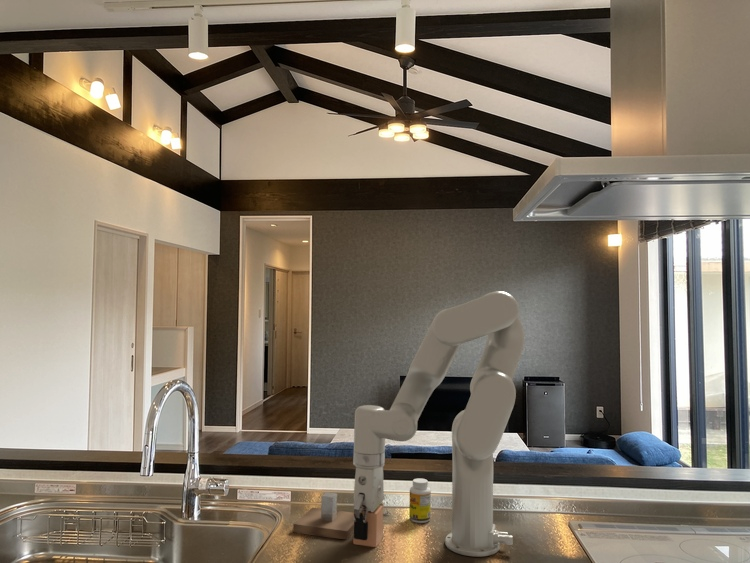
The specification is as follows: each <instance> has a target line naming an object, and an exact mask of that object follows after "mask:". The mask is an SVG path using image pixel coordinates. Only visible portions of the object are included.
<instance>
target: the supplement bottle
mask: <svg viewBox="0 0 750 563" xmlns="http://www.w3.org/2000/svg"><path fill="white" fill-rule="evenodd" d="M431 493H432V490H431V488H430V487H429V482H428V480H427V479H425V478H414V479H413V480H412V486H411V487H410V488H409V505H408V506H409V514H408V515H409V517H408V518H409V520H410V521H411V522H414V523H416V524H426V523H428V522H430V520H431V515H432V514H431V511H432V510H431V507H432V506H431V504H432V503H431V502H432V494H431Z"/></svg>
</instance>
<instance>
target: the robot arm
mask: <svg viewBox="0 0 750 563" xmlns="http://www.w3.org/2000/svg"><path fill="white" fill-rule="evenodd" d="M519 308H520V307H519V304H518V301H517V300H516V299H515V297H514V296H513V295H512V294H510V293H508V292H506V291H501V290H496V291H490V292H489V293H488V292H487V293H486V294H484V295H483V296H480V297H477V298H475V299H472V300H469V301H468V302H464V303H461V304H459V305H455V306H453V307H449V308H445V309H442V310H440V311H438V312H437V313H436V315H435V316H434V318H433V320H432V321H431V323H430V325H429V327H428V330H427V332H426V333H425V336H424V338H423V340H422V341H421V344H420V346H419V348H418V350H417V352H416V353H415V356H414V358H413V360H412V361H411V364H410V366H409V369H408V372H407V374H406V377H405V378H404V380H403V383H402V385H401V386H400V388H399V391H398V392H397V395H396V396H395V398H394V400H393V402H392V404H391V407H390V408H389V409H385V408H384V407H382V406H379V405H373V404H372V405H371V404H368V405H367V404H366V405H365V404H364V405H360V406H358V407H357V408H356V409H355V412H354V426H353V427H354V428H353V429H354V433H353V457H352V458H353V462H352V464H353V466H355V475H354V487H353V488H354V489H353V513H354V512H355V513H354V532H353V537H354V539H359V540H367V538H368V522H366V521H367V517H368V512H369V511H371V512H374V511H375V510H376V509H377V508H378V507H379V505H380V504H381V503H382V502H384V495H385V494H384V493H385V490H384V488H385V487H384V467H385V460H386V458H385V455H386V453H385V452H386V440H390V441H393V442H394V441H395V442H407V441H410V440H412V438H414V436H415V435H416V433H417V431H418V421H419V418H420V417H421V415H422V412H423V411H424V408H425V406H426V405H427V402H428V401H429V398H430V397H431V396H432V394H433V392H434V390H435V389H436V388H437V387H438V386H440V385H441V383H442V382H443V380H444V379H445V377H446V375H447V373H448V371H449V369H450V368H451V365H452V363H453V361H454V358H455V356H456V355H457V353H458V351H459V349H460V347H461V345H462V344H464V343H465V344H466V343H469V342H472V341H473V340H476V339H480V338H482V337H485V336H487V339H486V343H485V346H484V349H483V352H482V354H481V357H480V359H479V363H478V365H477V366H476V370H475V372H474V374H473V376H472V378H471V381H470V384H469V391H470V397H469V399H468V402H467V404H466V406H465V408H464V410H461V411H460V412H459V413H458V414H457V415H456V416H455V418H454V419H453V422H452V426H451V449H452V450H451V452H452V453H451V454H452V466H451V467H452V476H451V477H452V479H451V480H452V483H451V484H452V485H451V486H452V487H451V488H452V489H451V491H452V492H451V493H452V494H451V498H452V499H451V532H450V533H448V534H447V535H446V537H445V539H444V542H445V547H447V549H448V550H449V551H451V552H453V553H456V554H458V555H462V556H467V557H477V558H479V557H481V558H482V557H488V556H492V555H494V554H495V555H496V553H498V551H500V549H501V548H500V545H501V544H504V545H507V546H508V545H509V546H513V543H514V542H513V540H514V539H513V538H514V537H513V535H509V532H507V531H499V530H498V529H496V524H495V523H494V453H495V452H496V450H497V449H498V446H499V445H500V442H501V440H502V437H503V435H504V433H505V430H506V427H507V424H508V422H509V419H510V417H511V414H512V411H513V410H514V406H515V402H516V397H517V395H516V394H517V390H516V386H515V384H514V381H513V379H514V377H515V374H516V371H517V369H518V368H517V367H518V365H519V362H520V359H521V356H522V352H523V349H524V344H525V334H524V327H523V323H522V320H521V318H520V316H519ZM362 507H366V508H362ZM361 512H365V514H364V516H363V513H361Z"/></svg>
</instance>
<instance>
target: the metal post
mask: <svg viewBox="0 0 750 563" xmlns="http://www.w3.org/2000/svg"><path fill="white" fill-rule="evenodd" d="M337 501H338V492H337V493H336V492H328V491H325V492H324V493H323V494H322V495H321V502H320V503H321V504H320V505H321V508H320V509H321V520H324V521H333V520H334V519H335V518H336V517H337V511H338V509H337V508H338V506H337V505H338V504H337V503H338V502H337Z"/></svg>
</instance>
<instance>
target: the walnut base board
mask: <svg viewBox="0 0 750 563" xmlns="http://www.w3.org/2000/svg"><path fill="white" fill-rule="evenodd" d="M292 527H293V529H292V530H293V532H292V533H296V534H304V535H312V536H317V537H324V538H333V539H338V540H348V539H349V538H350V537H351V536H352V534H354V512H352V511H343V510H337V517H336V518H335V519H334V520H333V521H324V520H321V508H318V507H317V508H316V507H312V508H311V507H310V509H309V510H308V511H306V512H305V514H303V515H302V516H301V517H300V518H298V520H296V521H295V522H294V523H293V525H292Z"/></svg>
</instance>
